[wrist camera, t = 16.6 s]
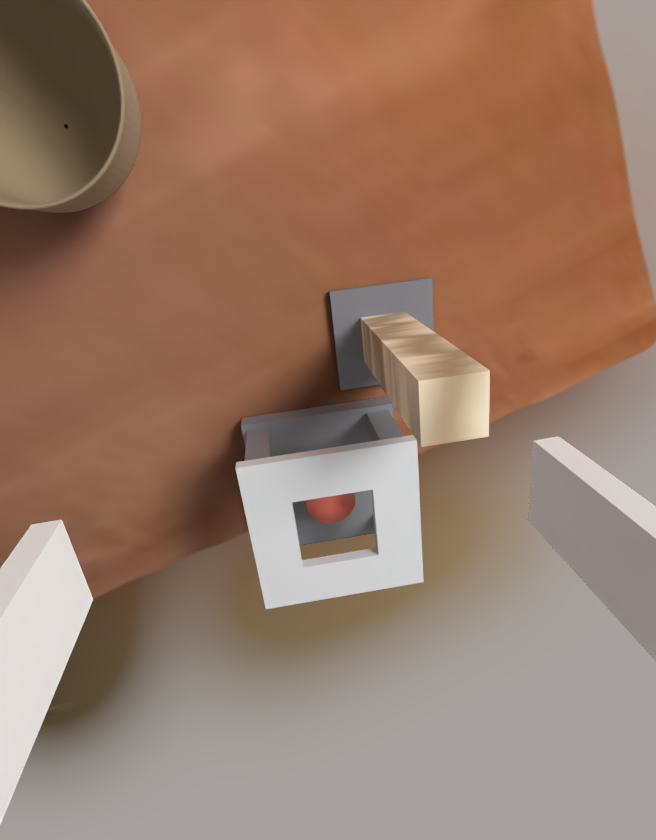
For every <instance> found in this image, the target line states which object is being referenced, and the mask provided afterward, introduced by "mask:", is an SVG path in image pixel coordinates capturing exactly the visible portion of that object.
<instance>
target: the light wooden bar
mask: <svg viewBox="0 0 656 840" xmlns="http://www.w3.org/2000/svg"><path fill="white" fill-rule="evenodd" d="M360 319H361V330H362V342H363V353H364V362H365V363H366V365H367V366H368V368H369V369H370V371H371V372H372V374H373V375H374V377H375V378H376V380H377V381H378V383H379V384H380V386H381V387H382V389H383V390H384V392H385V393H386V395H387V396H388V398H389V399H390V401H391V402H392V404H393V405H394V407H395V408H396V410H397V411H398V413H399V414H400V416H401V417H402V419H403V420H404V422H405V423H406V425H407V426H408V428H409V429H410V431H411V432H412V434H413V435H414V437H415V438H416V440H417V441H418V443H419V444H420V446H421V447H424V446H430V445H437V444H443V443H450V442H456V441H462V440H468V439H475V438H481V437H488V436H489V392H490V370H488V369H487V368H485V367H484V366H483V365H481V364H480V363H478V362H477V361H475V360H474V359H472V358H471V357H470V356H468V355H467V354H465V353H464V352H462V351H461V350H460V349H458V348H457V347H455V346H454V345H452V344H451V343H449V342H448V341H447V340H445V339H444V338H442V337H441V336H439V335H438V334H437V333H435V332H434V331H432V330H431V329H429V328H428V327H426V326H425V325H424V324H422V323H421V322H419V321H418V320H416V319H415V318H413V317H412V316H411V315H409V314H408V313H406V312H398V313H390V314H383V315H376V316H369V317H362V318H360Z"/></svg>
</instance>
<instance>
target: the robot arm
mask: <svg viewBox="0 0 656 840" xmlns="http://www.w3.org/2000/svg"><path fill="white" fill-rule="evenodd" d="M530 486H531V487H530V500H529V514H528V520H529V522H530V523H531V524H532V525H533V526H534V527H535V528H536V529H537V531H538V532H539V533H540V534H541V535H542V536H543V537H544V538H545V539H546V541H547V542H548V543H549V544H550V545H551V546H552V547H553V548H554V549H555V550H556V552H557V553H558V554H559V555H560V556H561V557H562V558H563V559H564V560H565V562H567V564H568V565H569V566H570V567H571V568H572V569H573V570H574V572H575V573H577V575H578V576H579V577H580V578H581V579H582V580H583V581H584V583H586V585H587V586H588V587H589V588H590V589H591V590H592V591H593V592H594V594H595V595H596V596H597V597H598V598H599V599H600V600H601V601H602V602H603V603H604V605H605V606H606V607H607V608H608V609H609V610H610V611H611V612H612V614H614V616H615V617H616V618H617V619H618V620H619V621H620V622H621V623H622V625H624V627H625V628H626V629H627V630H628V631H629V632H630V633H631V634H632V636H633V637H634V638H635V639H636V640H637V641H638V642H639V643H640V644H641V645H642V647H643V648H644V649H645V650H646V651H647V652H648V653H649V654H650V655H651V657H652V658H653V659H654V660H655V661H656V506H654V505H653V504H651V503H650V502H649V501H647V500H646V499H644V498H643V497H642V496H640V495H639V494H638V493H636V492H635V491H633V490H632V489H631V488H629V487H628V486H626V485H625V484H624V483H622V482H621V481H620V480H618V479H617V478H615V477H614V476H613V475H611V474H610V473H608V472H607V471H606V470H604V469H603V468H602V467H600V466H599V465H597V464H596V463H595V462H593V461H592V460H591V459H589V458H587V457H586V456H585V455H584V454H582V453H581V452H579V451H578V450H577V449H575V448H574V447H573V446H571V445H570V444H568V443H567V442H566V441H564V440H563V439H561V438H560V437H553V438H547V439H541V440H536V441H534V443H533V456H532V471H531V485H530ZM92 601H93V598H92V595H91V593H90V590H89V588H88V585H87V583H86V580H85V577H84V575H83V572H82V570H81V567H80V565H79V562H78V560H77V557H76V555H75V552H74V549H73V547H72V544H71V542H70V539H69V537H68V534H67V532H66V529H65V527H64V524H63V522H62V520H56V521H50V522H44V523H38V524H32V525H31V526H30V528H29V529H28V530H27V532H26V533H25V535H24V536H23V537H22V539H21V540H20V542H19V543H18V544H17V546H16V547H15V549H14V550H13V551H12V553H11V554H10V556H9V557H8V558H7V560H6V561H5V563H4V564H3V566H2V567H1V568H0V824H1V822H2V819H3V817H4V814H5V812H6V809H7V807H8V805H9V802H10V800H11V797H12V795H13V793H14V790H15V787H16V785H17V782H18V780H19V778H20V776H21V773H22V771H23V768H24V766H25V763H26V761H27V759H28V756H29V754H30V751H31V748H32V747H33V744H34V742H35V739H36V737H37V734H38V732H39V730H40V727H41V725H42V722H43V719H44V717H45V715H46V713H47V710H48V708H49V705H50V703H51V700H52V698H53V696H54V693H55V691H56V688H57V686H58V683H59V681H60V679H61V676H62V674H63V671H64V669H65V666H66V664H67V662H68V659H69V657H70V654H71V652H72V649H73V647H74V645H75V642H76V640H77V637H78V635H79V633H80V630H81V628H82V625H83V623H84V620H85V618H86V616H87V613H88V611H89V608H90V606H91V603H92Z"/></svg>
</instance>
